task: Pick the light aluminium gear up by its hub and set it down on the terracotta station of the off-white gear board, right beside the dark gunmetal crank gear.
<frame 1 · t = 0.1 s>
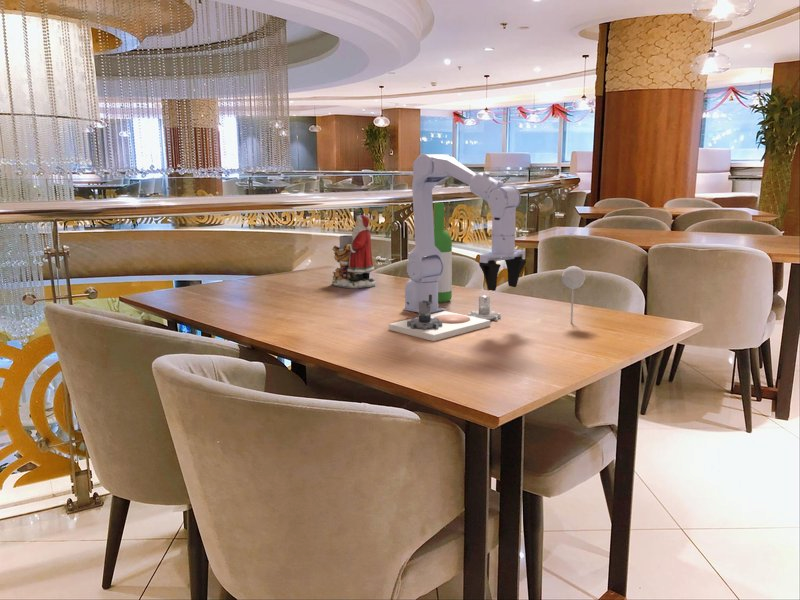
hand: (502, 288, 165), 10 cm above the table, tool pointing down, fingers open, 7 cm apart
wine bottle: (439, 301, 200), on the table
aluminium gear: (484, 317, 177), on the table
lollipop: (571, 323, 170), on the table
santa figurine: (352, 285, 229), on the table
crank gear: (424, 325, 162), resting on gear board
gear board: (439, 327, 166), on the table
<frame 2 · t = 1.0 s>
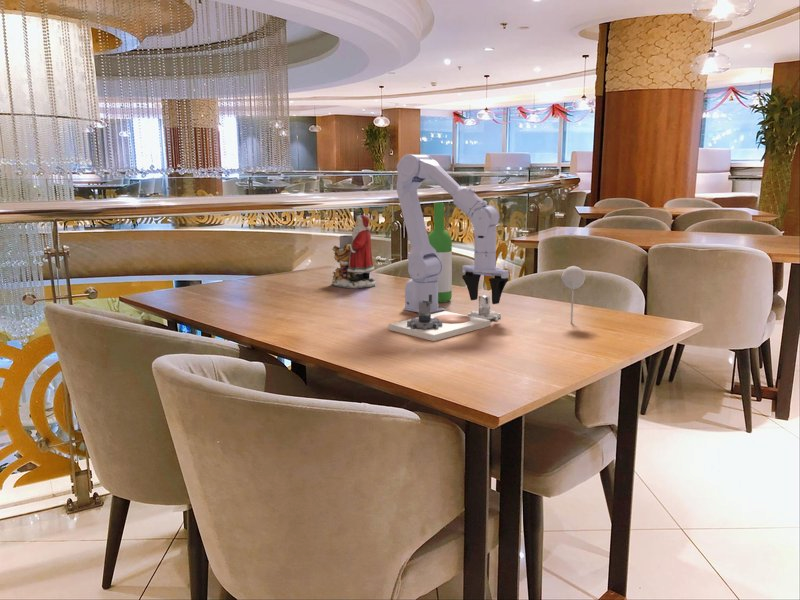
hand: (484, 301, 176), 5 cm above the table, tool pointing down, fingers open, 7 cm apart
nothing on the table moved.
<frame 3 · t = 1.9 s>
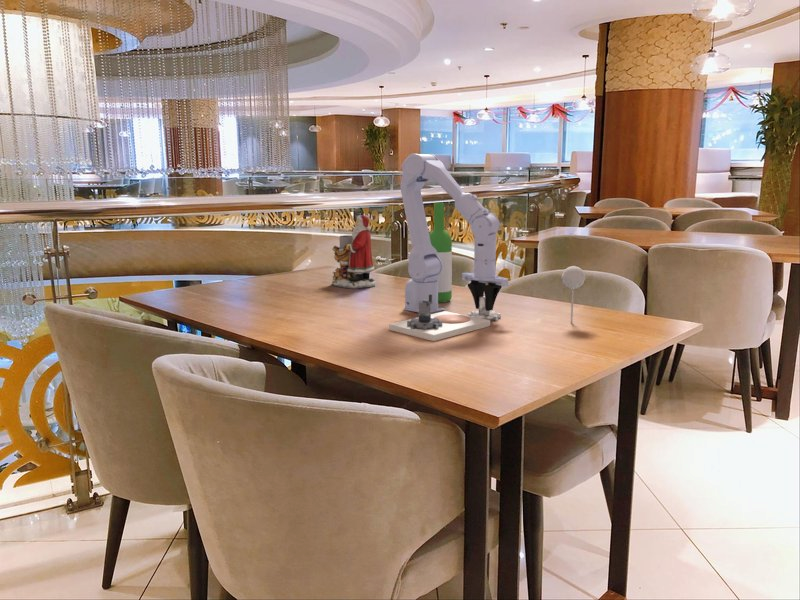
hand: (484, 309, 176), 2 cm above the table, tool pointing down, fingers closed on aluminium gear, 3 cm apart
aluminium gear: (484, 317, 177), on the table, touching gripper
everything else where it was.
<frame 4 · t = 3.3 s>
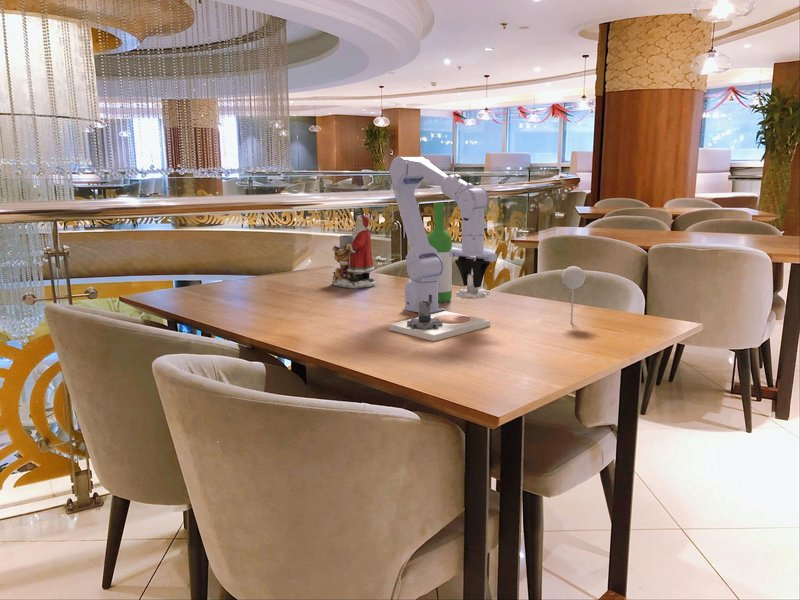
hand: (472, 286, 172), 9 cm above the table, tool pointing down, fingers closed on aluminium gear, 3 cm apart
aluminium gear: (472, 295, 173), point 7 cm above the table, touching gripper
everything else where it was.
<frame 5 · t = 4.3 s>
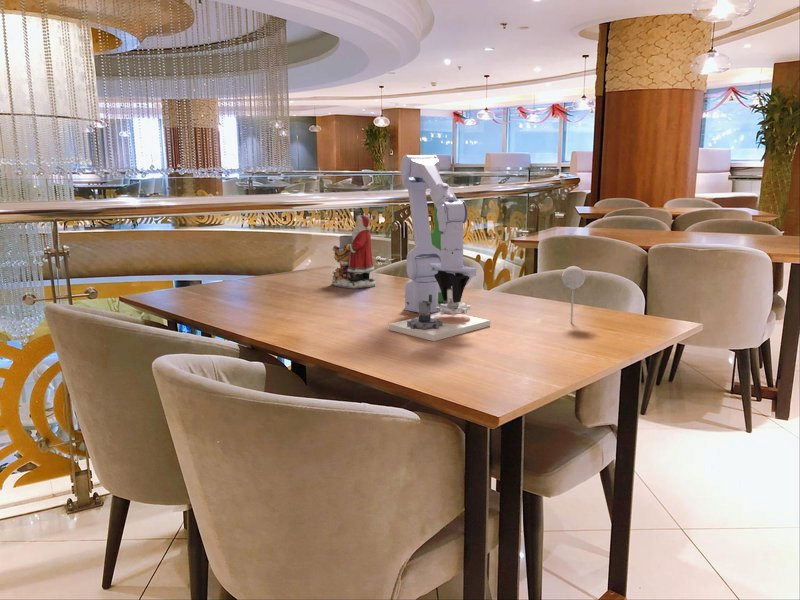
hand: (451, 301, 168), 6 cm above the table, tool pointing down, fingers closed on aluminium gear, 3 cm apart
aluminium gear: (453, 310, 169), point 4 cm above the table, touching gripper
everything else where it was.
when the fingers open (6 cm above the table, at t = 4.7 s): aluminium gear drops 1 cm, resting on gear board.
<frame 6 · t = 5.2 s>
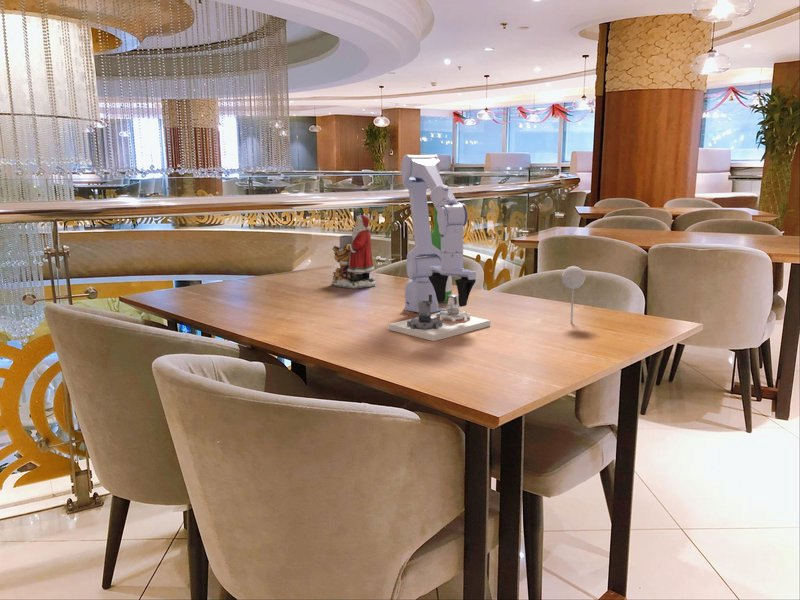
hand: (451, 303, 168), 6 cm above the table, tool pointing down, fingers open, 7 cm apart
aluminium gear: (453, 318, 169), point 2 cm above the table, touching gear board
everything else where it was.
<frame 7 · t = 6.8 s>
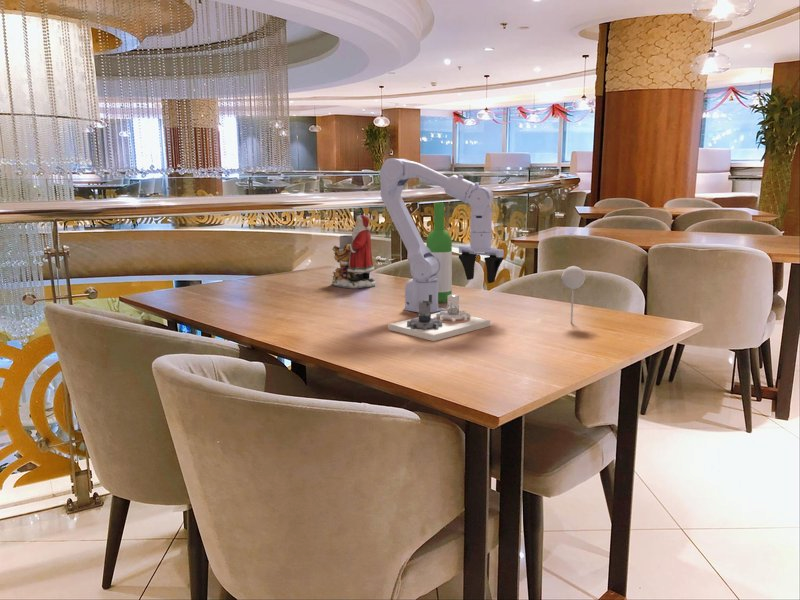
hand: (480, 280, 179), 9 cm above the table, tool pointing down, fingers open, 7 cm apart
nothing on the table moved.
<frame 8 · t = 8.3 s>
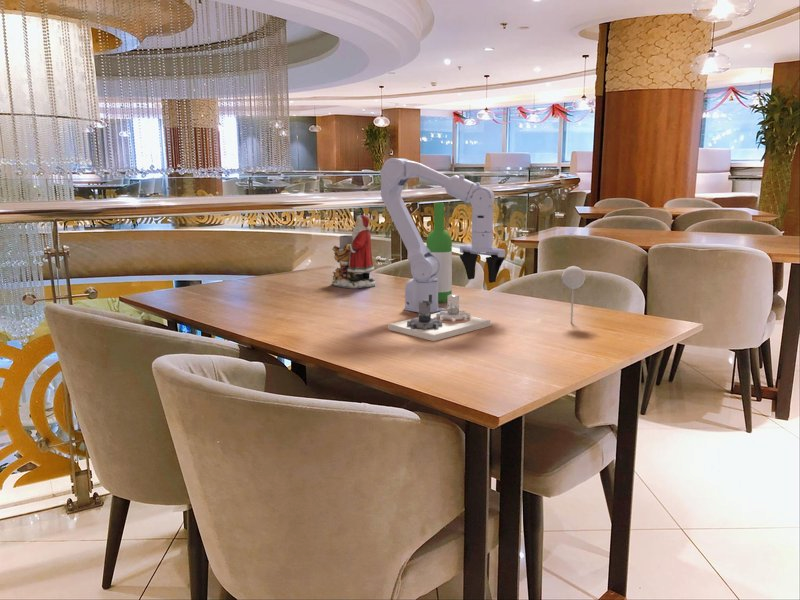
hand: (481, 280, 180), 9 cm above the table, tool pointing down, fingers open, 7 cm apart
nothing on the table moved.
at the end: aluminium gear 0.6 cm from the target spot on the gear board, point 1.7 cm above the gear board's base; aluminium gear tilted 0°; the gripper is holding nothing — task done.
